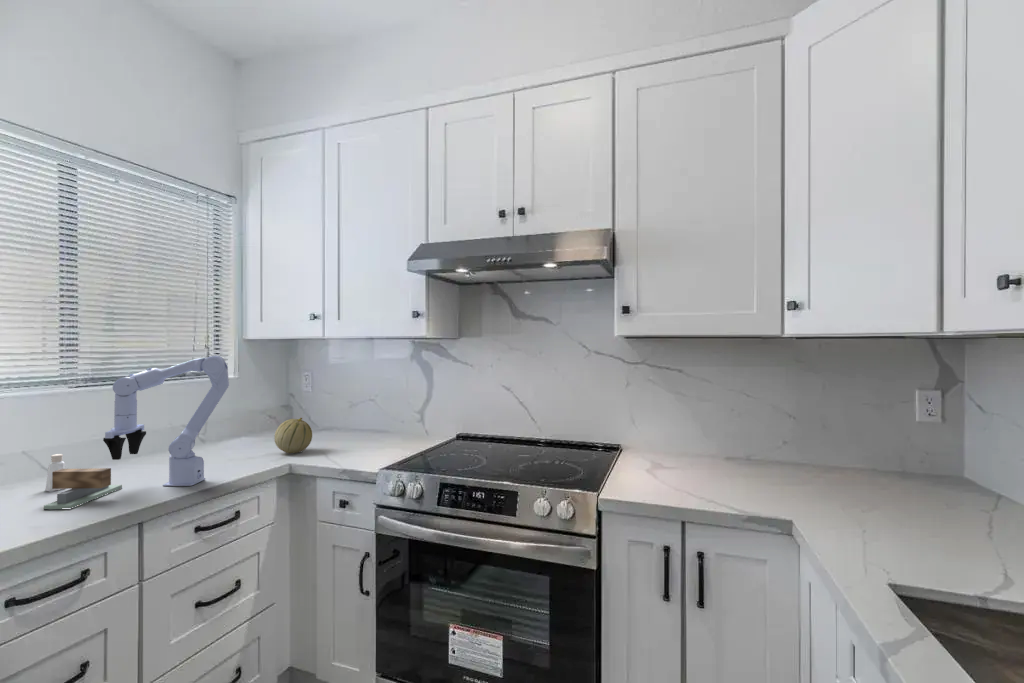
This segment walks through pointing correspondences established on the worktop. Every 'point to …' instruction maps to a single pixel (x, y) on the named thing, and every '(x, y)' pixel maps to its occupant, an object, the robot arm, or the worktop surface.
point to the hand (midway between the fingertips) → (125, 456)
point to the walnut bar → (81, 478)
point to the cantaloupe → (293, 436)
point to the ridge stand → (79, 496)
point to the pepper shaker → (54, 469)
